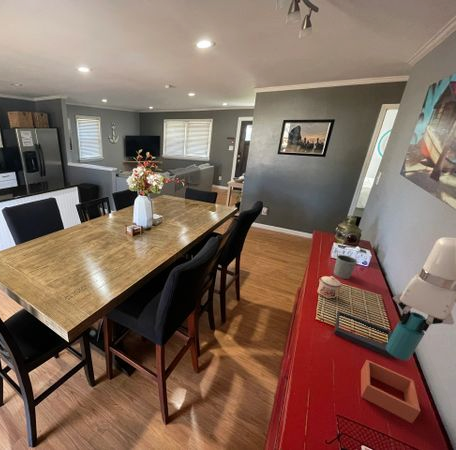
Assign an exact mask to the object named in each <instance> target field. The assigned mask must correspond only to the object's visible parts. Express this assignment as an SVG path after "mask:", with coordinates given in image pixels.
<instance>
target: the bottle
mask: <svg viewBox="0 0 456 450" xmlns="http://www.w3.org/2000/svg"><path fill="white" fill-rule="evenodd" d="M425 319H426V317H425V316H423V315H422V314H421V313H418V312H415V311H411V312H410V315H409V317H408V319H407V320H406V322H405V324H404V325H402V324H401V322H402V320H399V321H398V322H397V324H396V326H395V328H394V329H393V331H392V332H391V334H392V335H391V337H390V339H389V341H388V343H387V345H386V350H387V351H388V352H389V353H390V354H391V355H392V356H394V357H393V358H396V359H398V360H401V361H407V362H408V361H409V360H410V359H411V358H412V357H413V354H414V353H415V351H416V349H417V348H418V347H419V344H420V342H421V341H422V340H423V338H424V336H425V335H426V334H425V331H422V332H421V333H419V332H418V330H419V328H420V327H421V325H422V323H423V322H424V320H425Z"/></svg>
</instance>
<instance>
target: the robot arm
mask: <svg viewBox="0 0 456 450" xmlns="http://www.w3.org/2000/svg"><path fill="white" fill-rule="evenodd" d="M392 300H393V301H394V302H395V303H396V304H398V307H400V309H401V311H402V314H401V316H400V318H399V321H402V322H401V324H402V325H404V324H405V322H406V320H407V319H408V317H409V315H410V313H411V312H412V311H411V310H412V309H415V310H417V311H419V312H421V313H424V314H425V315H427V318H425V320H424V322H423V323H422V325H421V327H420V328H419V330H418V332H419V333H421V332H422V331H424V333H425V332H427V330H428V329H429V328H430V326H432V325H439V324H444V325H454V323H455V320H454V317H453V313H452V311H453V309H454V306H455V305H456V237H449V236H445V237H440V238H438V239H436V241H435V243H434V245H433V247H432V249H431V251H430V253H429V255H428V257H427V259H426V261H425V262H424V265H423V267H422V268H421V270H420V272H419V273H417V274H415V275H414V276H413V277H412V278H411V279H410V281H409V282H408V284H407V285H406V287H405V289H404V290H403V292H400V293H398V294H395V295H394V296H393V297H392Z"/></svg>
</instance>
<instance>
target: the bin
mask: <svg viewBox="0 0 456 450" xmlns="http://www.w3.org/2000/svg"><path fill="white" fill-rule="evenodd" d="M371 378H373V379H375V380H377V381H379V382H381V383H383V384H385V385H387V386H389V387H391V388H394V389H396V390H398V391H399V392H402V393H403V398H404V400H403V399H401V398H398V397H396V396H394V395H392V394H390V393H388V392H385V391H384V390H382V389H380V388H377V387H376V386H373V385H371ZM360 397H361V398H362V399H364V400H367V401H368V402H370V403H372V404H374V405H376V406H378V407H379V408H381V409H384V410H385V411H388V412H389V413H391V414H393V415H395V416H397V417H399V418H401V419H403V420H405V421H406V422H408V423H410V424H413V423H414V422H415V420H416V419H417V417H418V416H419V415H420V413H421V408H420V402H419V399H418V395H417V389H416V385H415V381H414V380H413V379H412V378H410V377H407V376H404V375H403V374H401V373H398V372H396V371H393V370H392V369H390V368H387V367H384V366H382V365H380V364H377V363H376V362H373V361H371V360H368V359H366V360H365V362H364V364H363V366H362V368H361V369H360Z"/></svg>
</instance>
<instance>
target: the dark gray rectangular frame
mask: <svg viewBox="0 0 456 450" xmlns="http://www.w3.org/2000/svg"><path fill="white" fill-rule="evenodd" d="M336 315H337V318H336V317H335V322H336V325H335V324H334V330H335V331H334V330H333V335H335V334H336V335H335V336H338V335H339V336H338V337H340V336H341V337H340V338H342V337H343V339H345V338H346V339H345V340H347V339H348V340H347V341H349V340H351V341H350V342H352V341H353V342H352V343H354V342H355V343H354V344H356V343H358V344H357V345H359V344H360V345H359V346H361V345H362V346H361V347H363V346H364V347H363V348H366V349H368V348H369V349H368V350H370V349H371V350H370V351H373V352H375V353H377V354H380V355H381V356H385V357H387V358H389V359H394V358H395V357H394V356H392V355H391V354H390V353H389V352H388V351H387V350H386V345H387V344H386V343H380V342H378V341H375V340H373V339H369V338H366V337H363V336H360V335H356V334H353V333H350V332H347V331H345V330H343V329H340V328H338V325H339V316H340V315H342V316H345V317H347V318H350V319H353V320H355V321H357V322H360V323H362V324H364V325H366V326H368V327H371V328H374V329H376V330H379V331H381V332H384V333H386V334H388V341H389V339H390V337H391V335H392V330H391V329H387V328H384V327H382V326H380V325H377V324H374V323H371V322H369V321H366V320H363V319H361V318H358V317H355V316H353V315H350V314H347V313H345V312H342V311H339V310H337V312H336Z"/></svg>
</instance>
